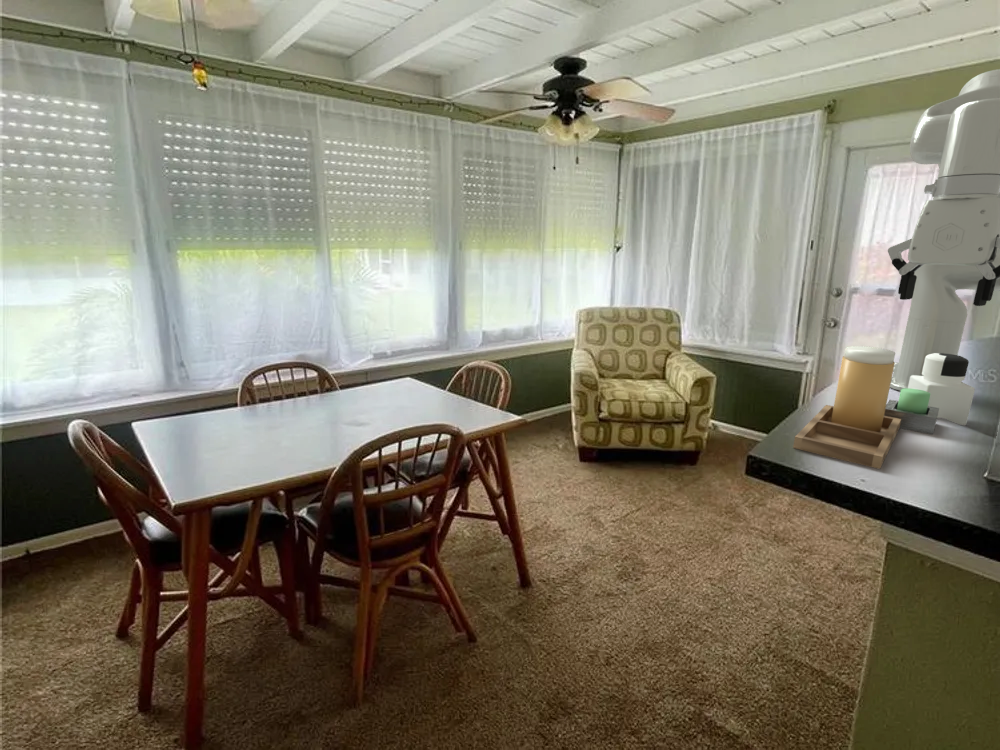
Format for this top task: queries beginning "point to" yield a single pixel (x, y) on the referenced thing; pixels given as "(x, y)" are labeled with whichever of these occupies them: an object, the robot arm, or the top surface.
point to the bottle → (863, 387)
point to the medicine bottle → (946, 386)
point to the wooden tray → (847, 439)
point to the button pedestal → (913, 418)
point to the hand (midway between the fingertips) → (940, 302)
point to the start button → (913, 400)
